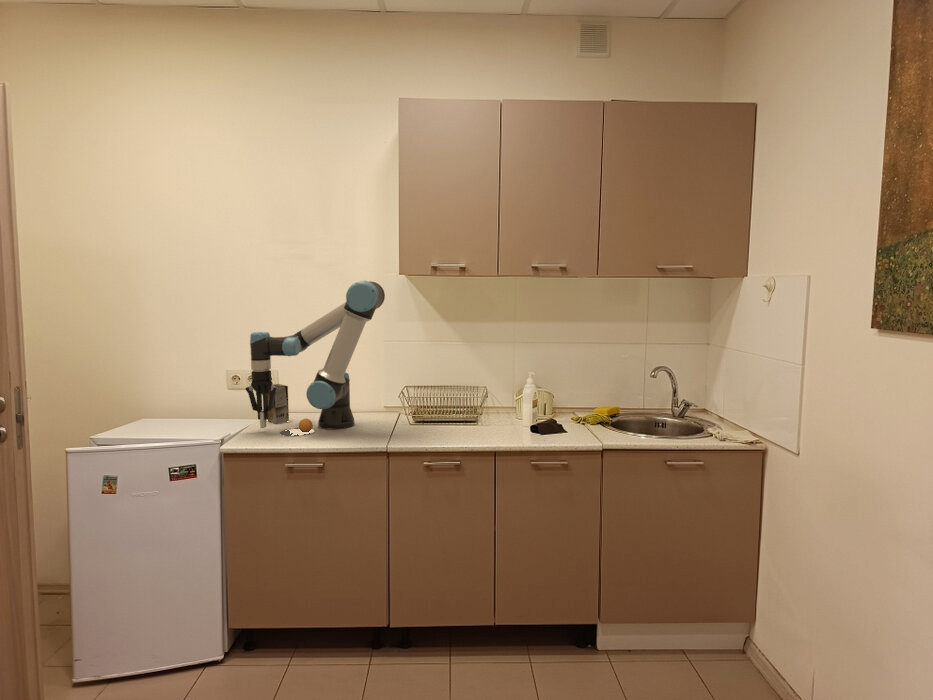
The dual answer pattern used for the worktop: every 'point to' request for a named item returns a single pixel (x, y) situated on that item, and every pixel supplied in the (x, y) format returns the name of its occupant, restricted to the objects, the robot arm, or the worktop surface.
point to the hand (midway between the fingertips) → (263, 427)
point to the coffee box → (279, 405)
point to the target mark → (288, 433)
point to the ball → (305, 425)
